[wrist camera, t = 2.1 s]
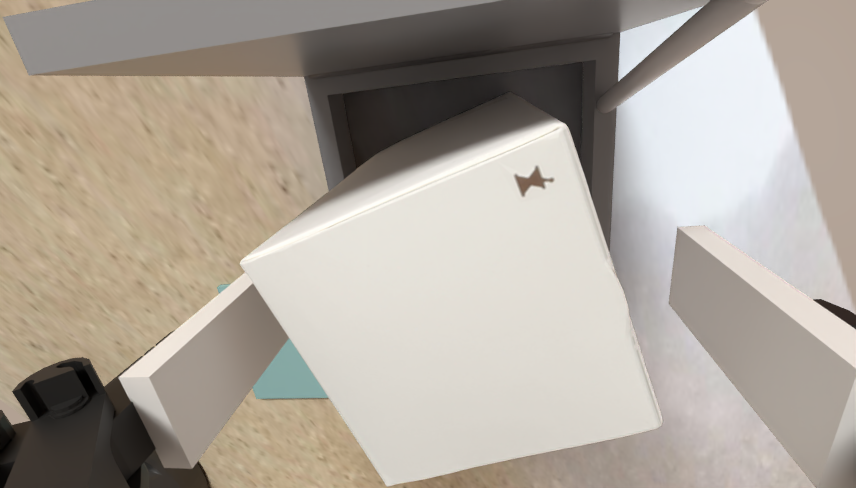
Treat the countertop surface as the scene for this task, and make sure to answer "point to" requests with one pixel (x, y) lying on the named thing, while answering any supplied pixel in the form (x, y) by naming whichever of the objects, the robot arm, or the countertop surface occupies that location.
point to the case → (375, 51)
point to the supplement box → (462, 299)
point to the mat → (286, 375)
